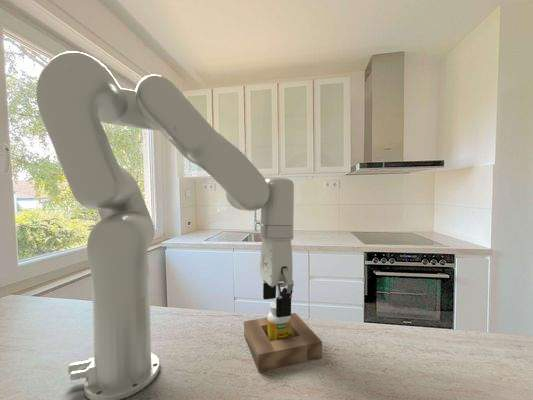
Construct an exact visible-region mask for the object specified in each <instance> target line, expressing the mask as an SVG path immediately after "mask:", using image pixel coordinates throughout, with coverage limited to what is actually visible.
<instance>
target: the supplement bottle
mask: <svg viewBox="0 0 533 400" xmlns="http://www.w3.org/2000/svg"><path fill="white" fill-rule="evenodd" d="M266 318H267V324H268V339H269V341H270V342H271V341H276V340H281V339H286V338H291V319H290V316H286V317H277V316H276V301H273V302H271V303H270V305H269V313H268V314H267V316H266Z"/></svg>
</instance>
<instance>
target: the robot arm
mask: <svg viewBox="0 0 533 400" xmlns="http://www.w3.org/2000/svg"><path fill="white" fill-rule="evenodd" d="M35 92H36V93H35V94H36V95H35V96H36V103H37V107H38V112H39V115H40V118H41V120H42V122H43V126H44V128H45V130H46V132H47V134H48V136H49V139H50V141H51V144H52V146H53V148H54V151H55V154H56V157H57V159H58V162H59V163H60V164H59V165H60V167H61V170H62V172H63V174H64V176H65V179H66V181H67V183H68V186H69V188H70V191H71V193H72V195H73V198H74V199H75V201H77V203H78V204H79V205H81V206H82V207H85V208H87V209H89V210H90V209H91V210H97V212H98V215H99V216H100V219H101V220H99V221H98V222H97V223H96V224H95V225H94V226H93V228H92V229H91V231H90V232H89V235H88V237H87V244H86V250H87V251H86V253H87V254H86V255H87V258H88V264H89V268H90V269H89V270H90V276H91V293H92V316H93V318H92V319H93V321H92V322H93V326H92V327H93V356H91V357H90V358H89V359H85V360H77V361H71V362H70V363H69V365H68V369H67V370H68V372H67V373H68V375H70V381H74V380H80V379H84V378H85V381H84V384H83V387H84V388H83V393H84V396H85V397H86V398H87V399H89V400H123V399H125V398H128V397H130V396H132V395H134V394H137V393H138V392H140V391H142V390H143V389H144V388H146V387H147V386H149V384H150V383H152V382H153V381H154V380H155V378H156V377H157V375H158V374H159V372H160V368H161V367H160V365H161V364H160V363H161V360H160V357H158V355H156V354H155V353H153V352H152V340H151V339H152V338H151V336H152V335H151V334H152V333H151V332H152V330H151V327H152V326H151V325H152V324H151V291H150V288H151V287H150V286H151V285H150V284H151V283H150V268H149V256H148V251H149V250H148V248H149V247H150V245H151V243H152V242H153V240H154V237H155V226H154V222H153V219H152V217H151V214H150V212H149V209H148V207H147V205H146V202H145V199H144V197H143V194H142V191H141V189H140V187H139V185H138V183H137V181H136V179H135V177H134V176H133V175H132V174H131V173H130V172H129V171H128V170H126V168H123V167H122V166H121V165H120V164H119V162H118V160H117V158H116V155H115V154H114V150H113V148H112V147H111V143H110V141H109V140H110V139H109V137H108V135H107V133H106V131H105V129H104V127H103V125H102V123H106V124H108V125H109V124H110V125H115V126H123V127H128V128H134V129H135V128H136V129H142V130H150V131H160V133H161V134H162V135H163V136H164V137H165V138H166V139H167V140H168V141H169V142H170V143H171V144H172V145H173V146H174V147H175V149H176V150H177V151H178V152H180V154H181V155H183V157H184V158H185V159H186V160H188V161H189V162H190V163H192V164H194V165H197V166H198V167H199V168H201V169H202V170H204V171H205V172H206V173H207V174H208V175H209V176H210V177H211V178H213V180H215V181H216V182H217V183H218V184H219V186H221V188H222V189H224V191H225V196H226V200H227V202H228V203H229V205H230V206H231V207H233V208H235V209H237V210H239V211H241V210H242V211H246V212H247V211H248V212H253V211H258V210H260V240H262V241H261V249H260V260H259V261H260V266H259V275H260V277H261V278H262V280H263V282H262V285H263V286H262V293H263V294H262V298H263V300H273V299H275V302H276V316H277V317H286V316H290V315H291V314H292V298H293V292H294V291H293V290H294V283H295V282H294V280H293V271H294V270H293V249H292V240H294V218H295V217H294V212H295V211H294V210H295V209H294V208H295V207H294V206H295V201H294V199H295V186H294V185H295V184H294V182H293V181H292V180H291V179H289V178H285V177H284V178H282V177H275V178H274V177H269V178H266V179H265V177H264V175H262V173H261V172H260V171H259V169H257V167H256V166H255V165H254V164H253V162H251V161H250V159H248V157H247V156H246V154H244V153H243V152H242V151H241V150H240V149H239V148H238V147H236V146H235V145H234V144H233V143H232V142H230V141H229V140H228V139H226V137H224V136H223V135H222V134H220V132H218V131H216V129H215V128H214V127H213V126H212V125H211V124H210V123H209V122H208V121H207V120H206V119H205V118H204V116H203V115H202V114H201V113H200V112H199V111H198V109H197V108H196V107H195V106H194V105H193V103H191V102H190V100H189V99H188V98H187V97H186V96H185V95H184V93H182V91H181V90H180V89H179V88H178V87H177V86H176V85H175V84H174V83H173V82H172V81H171V80H170V79H168V78H166V77H165V76H162V75H160V74H150V75H146V76H144V77H143V78H142V79H140V81H138V83H137V85H136V88H135V90H133V89H129V88H122V87H121V86H120V84H119V83H118V81H117V80H116V78H115V77H114V76H113V74H112V73H111V71H110V70H109V69H108V68H107V66H105V65H104V64H103V63H101V61H100V60H98V59H97V58H95V57H93V56H91V55H90V54H87V53H85V52H82V51H81V52H80V51H74V50H73V51H65V52H63V53H59V54H58V55H56V56H54V57H53V58H52V59H50V60H49V61H48V62H47V63H46V65H45V66H44V68H42V71H41V73H40V74H39V76H38V80H37V84H36V91H35ZM101 122H102V123H101ZM281 288H282V289H281Z"/></svg>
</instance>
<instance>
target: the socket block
mask: <svg viewBox="0 0 533 400" xmlns="http://www.w3.org/2000/svg"><path fill="white" fill-rule="evenodd" d="M290 319H291V338H286V339H281V340H276V341H271V342H270V341H269V339H268V324H267V317H264V318H263V317H262V318H256V319H250V320H244V321H243V336H244V338H245V342H246V344H247V347H248V349H249V351H250V354H251V357H252V359H253V362H254V364H255V367H256V370H257V371H258V373H263V372H268V371H271V370H276V369H281V368H284V367H288V366H294V365H297V364H302V363H307V362H310V361H315V360H316V361H317V360H320V359H323V342H322V340H321V338H320V337H319V336H317V334H316V333H315V332H314V331H313V330H312V329H311V328H310V327H309V326H308V325H307V324H306V322H304V321H303V319H302V318H301V317H300V315H298V314H297V313H296V312H293V313H292V312H291V315H290Z"/></svg>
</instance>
